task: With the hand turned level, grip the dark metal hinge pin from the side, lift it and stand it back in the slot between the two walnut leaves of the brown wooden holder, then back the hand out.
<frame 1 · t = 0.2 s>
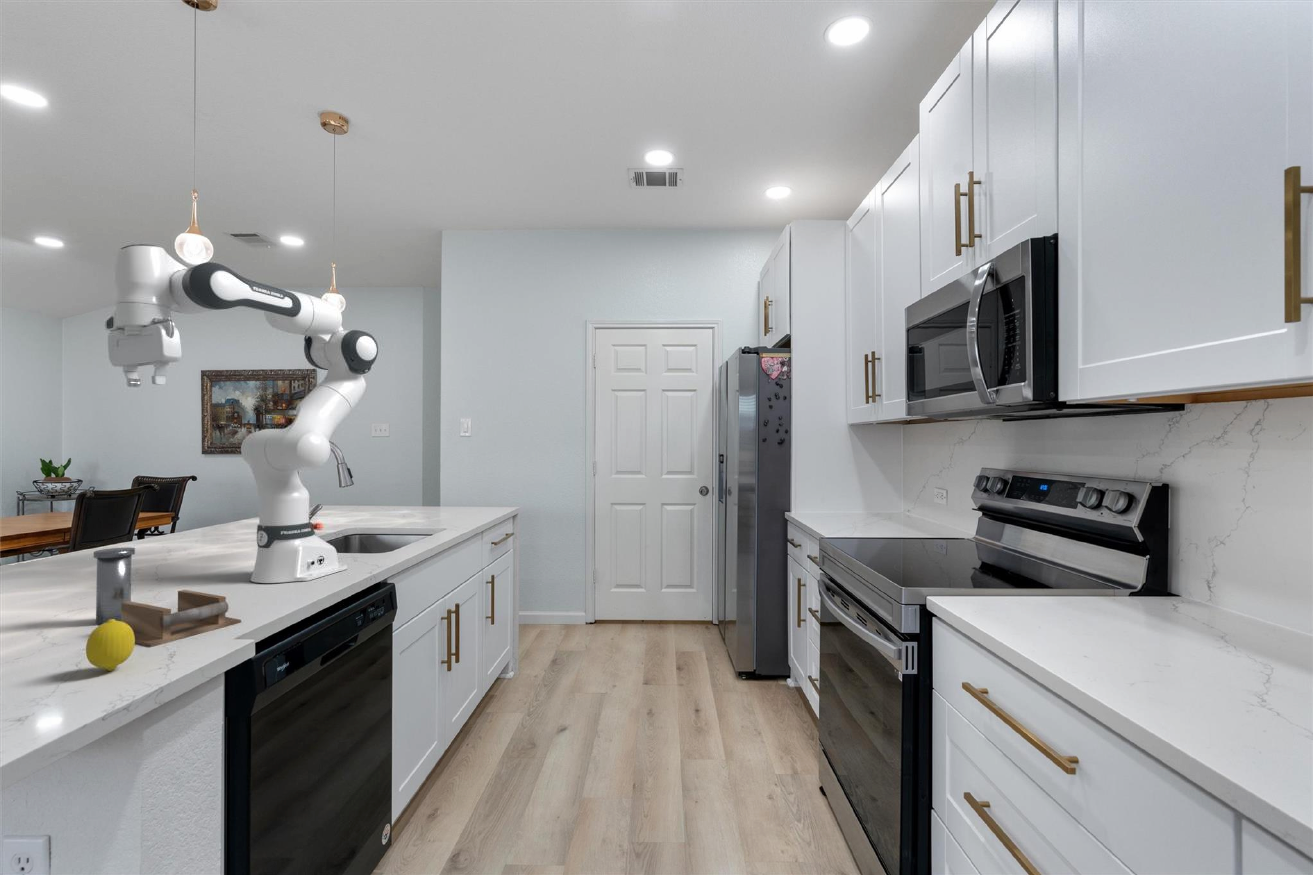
hand: (146, 385, 123), 47 cm above the countertop, tool pointing down, fingers open, 8 cm apart
hinge pin: (113, 620, 114), on the countertop
lemon: (110, 671, 90), on the countertop
brown wooden holder: (174, 628, 110), on the countertop
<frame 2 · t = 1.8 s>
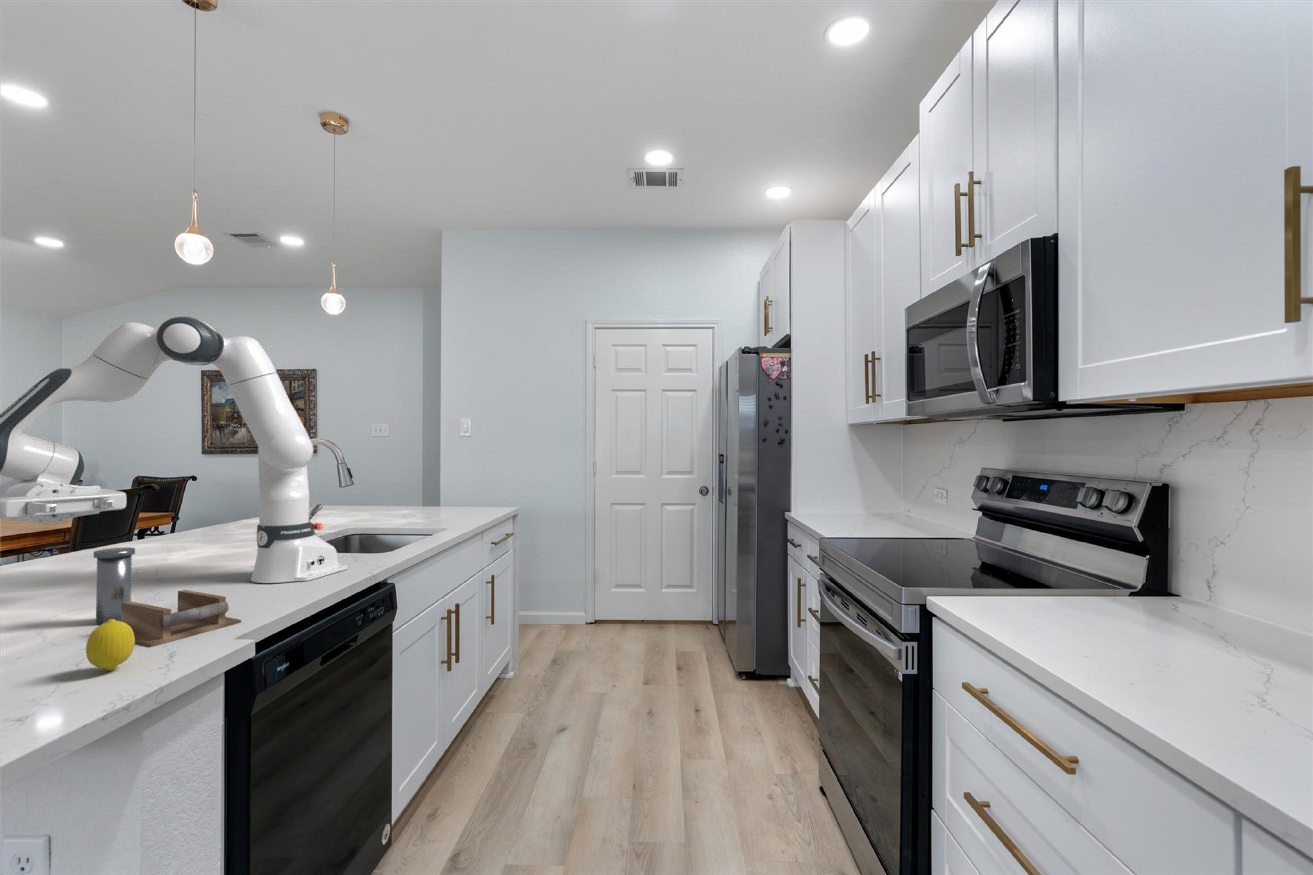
hand: (82, 506, 119), 22 cm above the countertop, tool horizontal, fingers open, 8 cm apart
nothing on the countertop moved.
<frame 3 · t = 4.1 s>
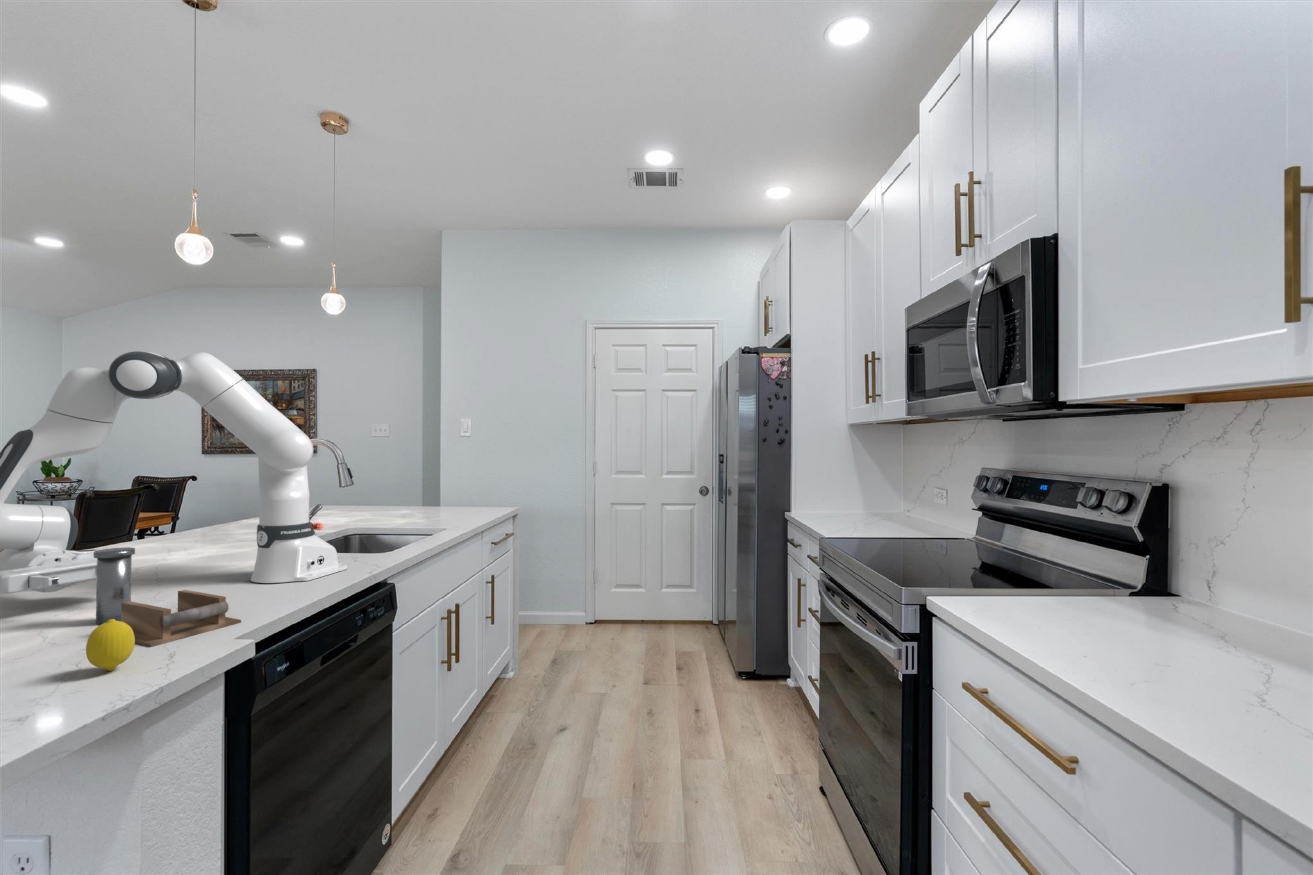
hand: (84, 576, 118), 8 cm above the countertop, tool horizontal, fingers open, 8 cm apart
nothing on the countertop moved.
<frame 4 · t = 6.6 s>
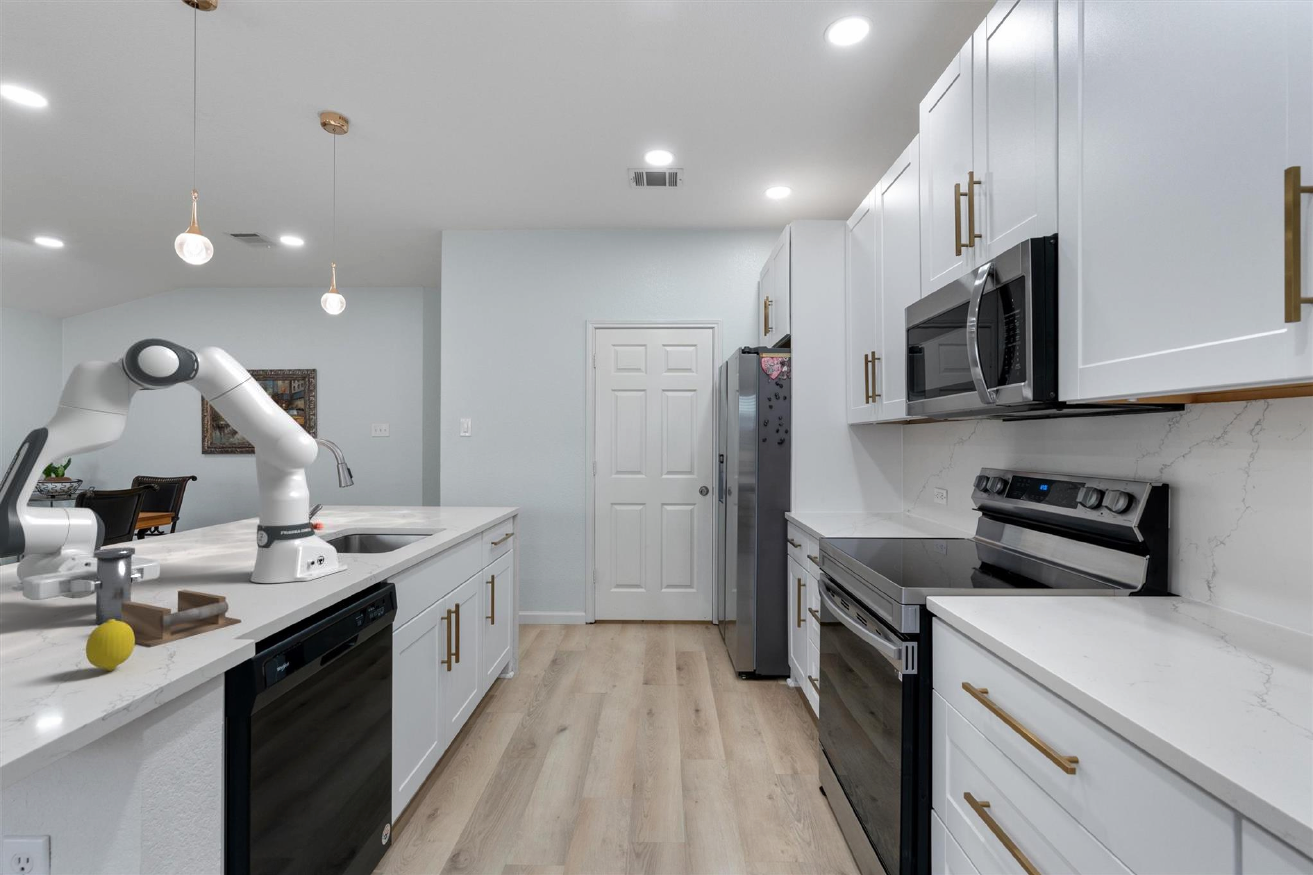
hand: (116, 582, 114), 8 cm above the countertop, tool horizontal, fingers closed on hinge pin, 5 cm apart
hinge pin: (113, 620, 114), on the countertop, touching gripper
everything else where it was.
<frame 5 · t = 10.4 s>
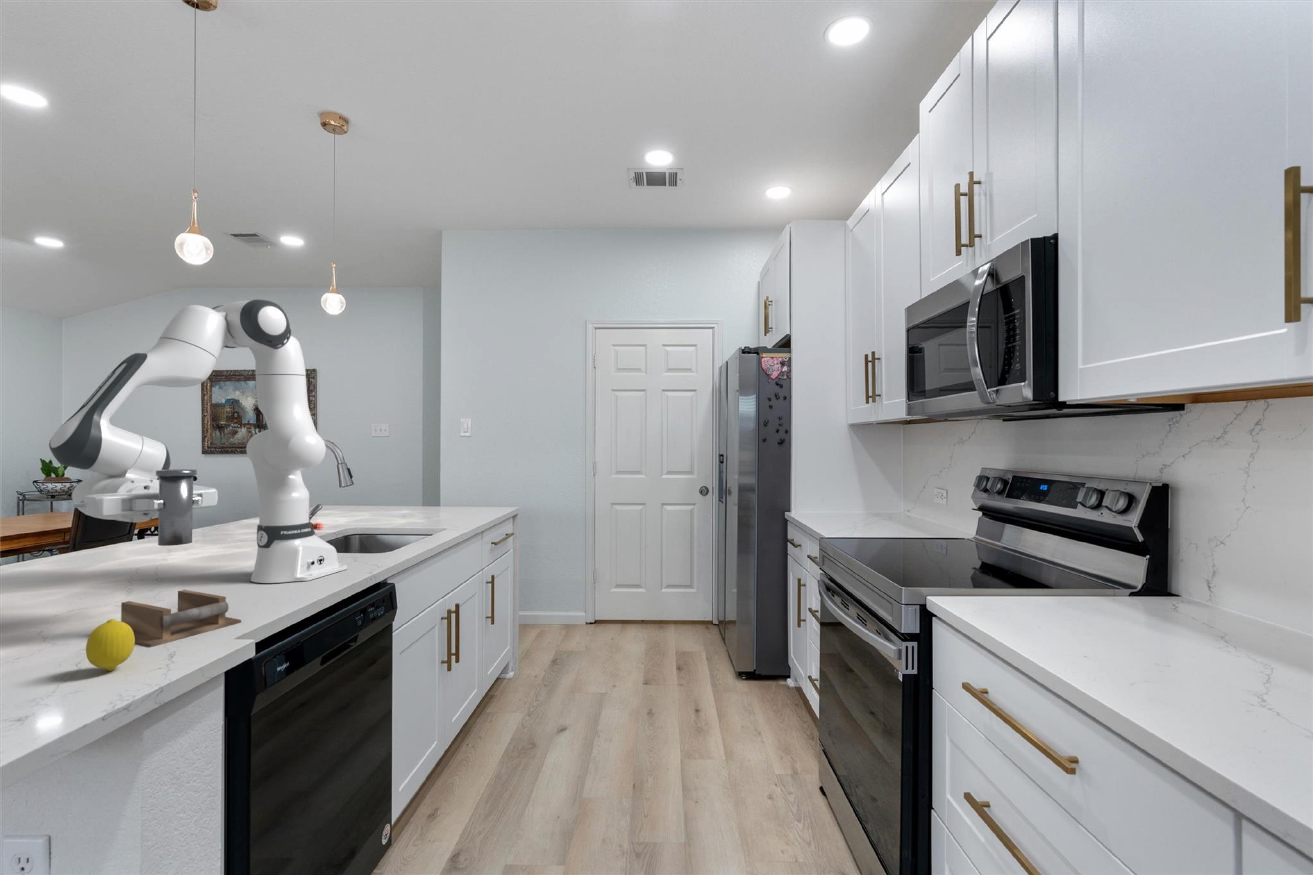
hand: (178, 503, 110), 24 cm above the countertop, tool horizontal, fingers closed on hinge pin, 5 cm apart
hinge pin: (175, 543, 110), point 16 cm above the countertop, touching gripper
everything else where it was.
when the fingers open (10 cm above the countertop, at t = 14.2 s): hinge pin drops 1 cm, resting on brown wooden holder.
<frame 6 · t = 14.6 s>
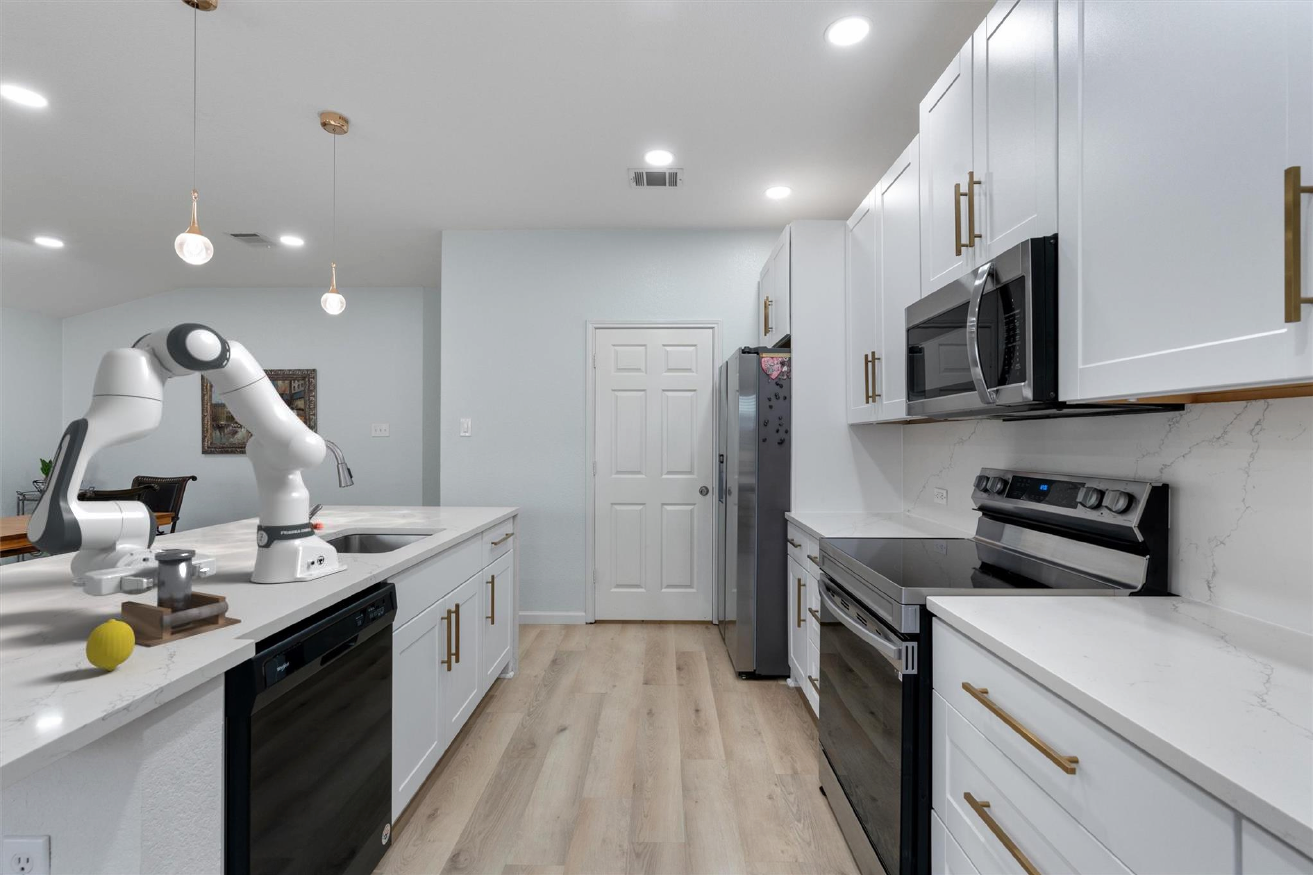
hand: (177, 578, 110), 10 cm above the countertop, tool horizontal, fingers open, 8 cm apart
hinge pin: (173, 625, 110), point 1 cm above the countertop, touching brown wooden holder
everything else where it was.
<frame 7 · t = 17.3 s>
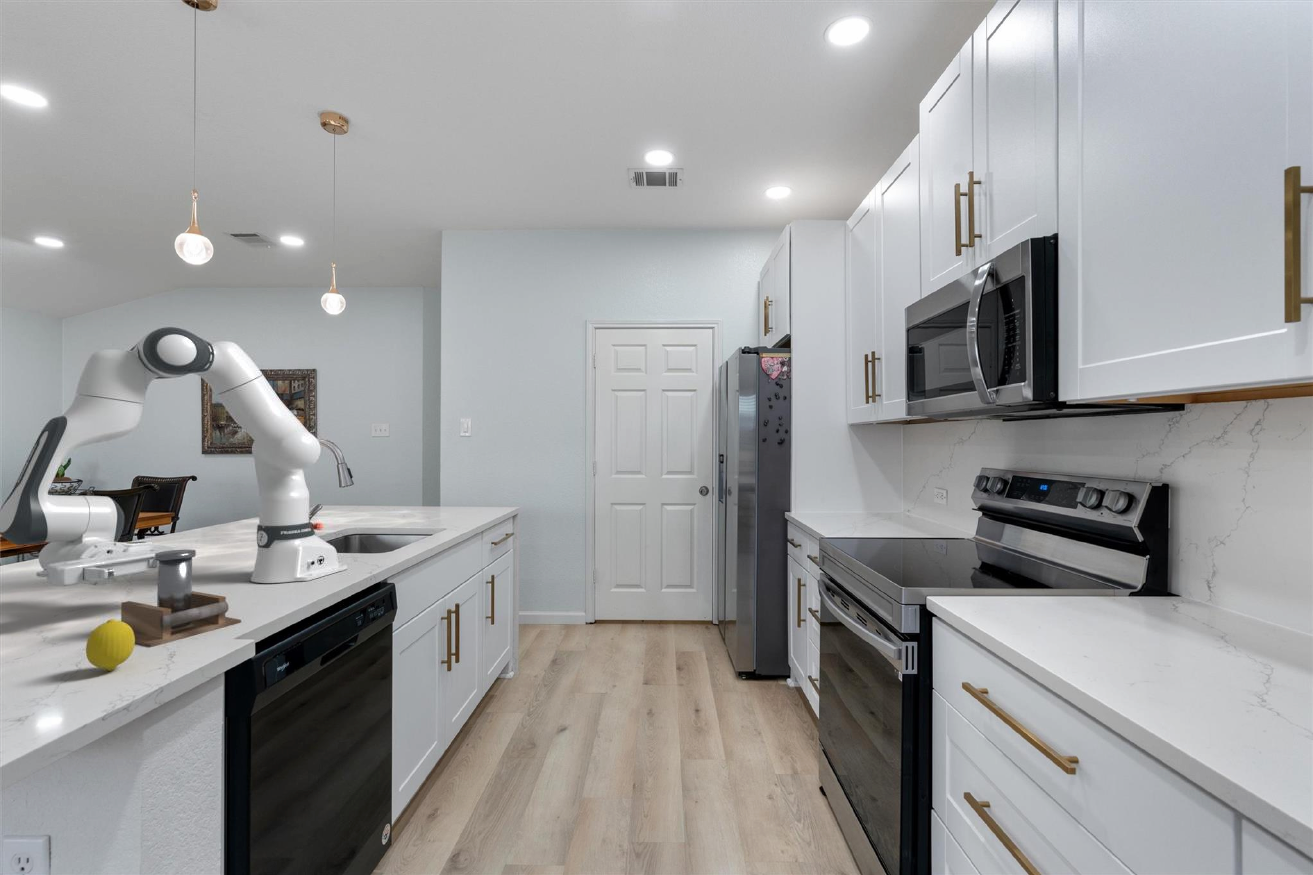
hand: (139, 568, 115), 10 cm above the countertop, tool horizontal, fingers open, 8 cm apart
nothing on the countertop moved.
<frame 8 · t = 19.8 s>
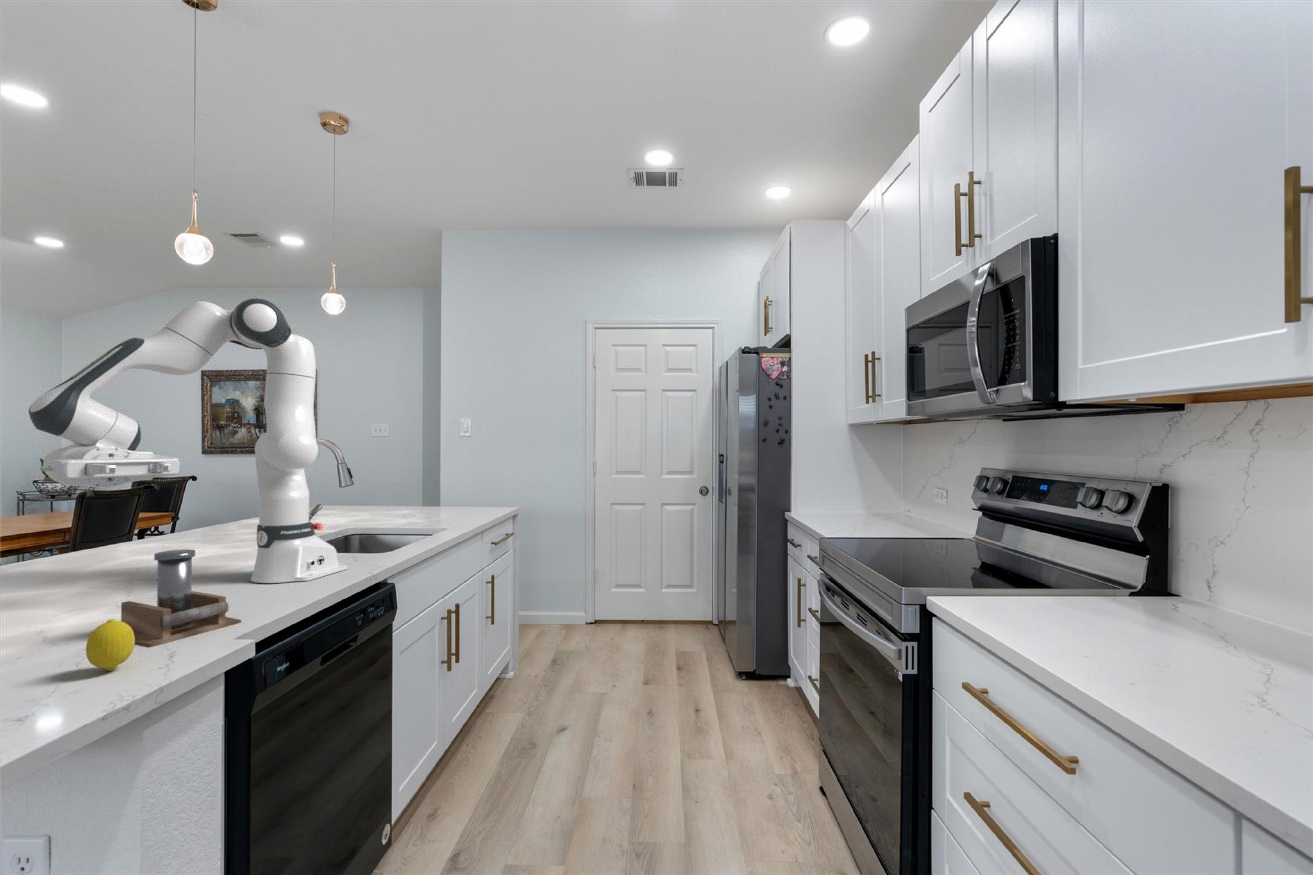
hand: (139, 468, 118), 30 cm above the countertop, tool horizontal, fingers open, 8 cm apart
nothing on the countertop moved.
at the end: hinge pin 0.1 cm off-centre on the brown wooden holder, point 0.5 cm above the brown wooden holder's base; hinge pin tilted 0°; the gripper is holding nothing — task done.
